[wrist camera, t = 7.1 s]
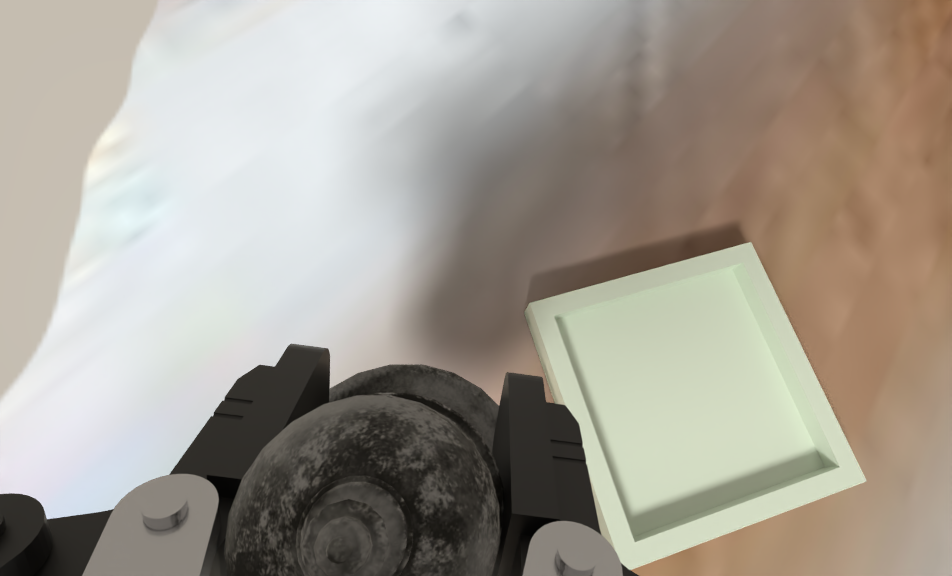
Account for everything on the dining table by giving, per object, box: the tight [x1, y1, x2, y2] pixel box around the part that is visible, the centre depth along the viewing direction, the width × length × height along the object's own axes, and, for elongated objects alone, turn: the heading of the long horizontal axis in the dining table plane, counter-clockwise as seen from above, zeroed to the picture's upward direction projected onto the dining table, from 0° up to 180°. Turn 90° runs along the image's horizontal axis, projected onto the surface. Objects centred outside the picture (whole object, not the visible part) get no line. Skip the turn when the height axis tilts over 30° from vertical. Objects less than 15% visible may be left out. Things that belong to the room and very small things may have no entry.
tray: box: [524, 242, 866, 570], centre depth 23 cm, size 11×11×2 cm
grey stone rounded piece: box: [224, 365, 504, 576], centre depth 10 cm, size 6×6×12 cm
